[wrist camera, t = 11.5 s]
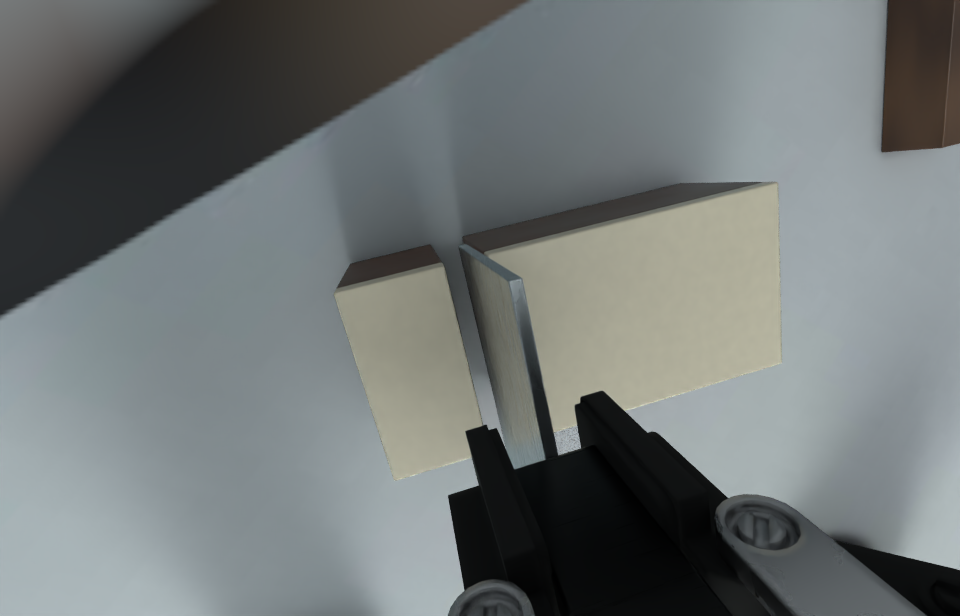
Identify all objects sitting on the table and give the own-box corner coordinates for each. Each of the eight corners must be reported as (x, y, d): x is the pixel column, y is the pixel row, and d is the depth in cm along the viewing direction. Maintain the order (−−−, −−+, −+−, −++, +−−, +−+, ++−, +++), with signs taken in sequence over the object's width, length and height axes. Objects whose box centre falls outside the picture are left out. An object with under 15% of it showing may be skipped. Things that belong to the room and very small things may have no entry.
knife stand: (892, -101, 22) (966, -144, 19) (964, -114, 23) (1047, -158, 20) (881, 152, 26) (942, 147, 23) (943, 136, 26) (1011, 130, 23)
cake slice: (350, 263, 22) (332, 293, 16) (430, 244, 22) (444, 265, 16) (394, 407, 24) (394, 481, 18) (466, 387, 25) (490, 452, 18)
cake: (461, 236, 22) (487, 254, 16) (680, 182, 24) (779, 181, 18) (494, 379, 25) (527, 441, 19) (692, 322, 26) (782, 363, 20)
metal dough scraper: (434, 251, 16) (534, 382, 4) (489, 238, 16) (722, 327, 5) (494, 489, 18) (655, 966, 7) (540, 474, 19) (770, 913, 7)
